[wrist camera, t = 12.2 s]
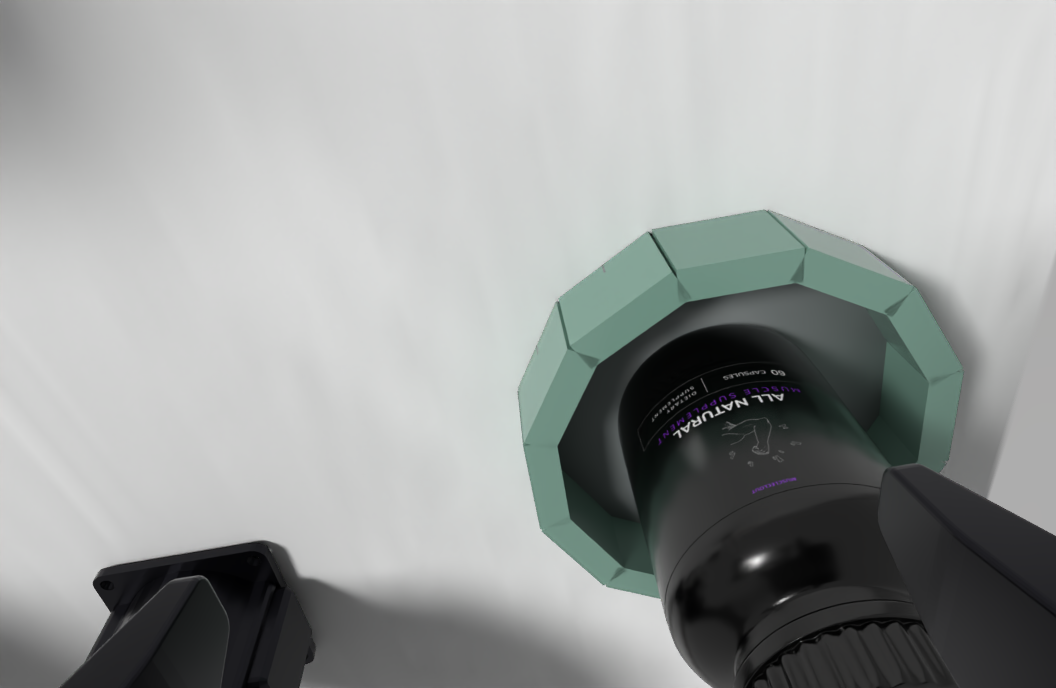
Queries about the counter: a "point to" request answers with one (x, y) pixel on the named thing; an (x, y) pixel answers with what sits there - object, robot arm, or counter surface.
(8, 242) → the counter surface
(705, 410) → the supplement bottle
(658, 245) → the cup
